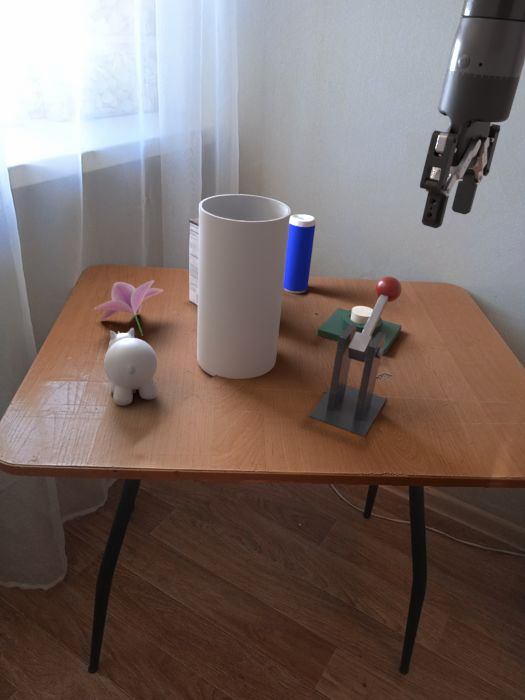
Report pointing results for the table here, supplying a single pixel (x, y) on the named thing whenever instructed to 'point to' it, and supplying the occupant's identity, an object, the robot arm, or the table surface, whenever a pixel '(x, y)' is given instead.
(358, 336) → the tap lever
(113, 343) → the chubby cartoon animal
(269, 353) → the cylinder vase
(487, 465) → the table surface
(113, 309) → the lily
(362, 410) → the grey lever stand
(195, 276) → the coffee box
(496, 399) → the table surface
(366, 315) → the button
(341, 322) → the button box
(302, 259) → the beverage can
